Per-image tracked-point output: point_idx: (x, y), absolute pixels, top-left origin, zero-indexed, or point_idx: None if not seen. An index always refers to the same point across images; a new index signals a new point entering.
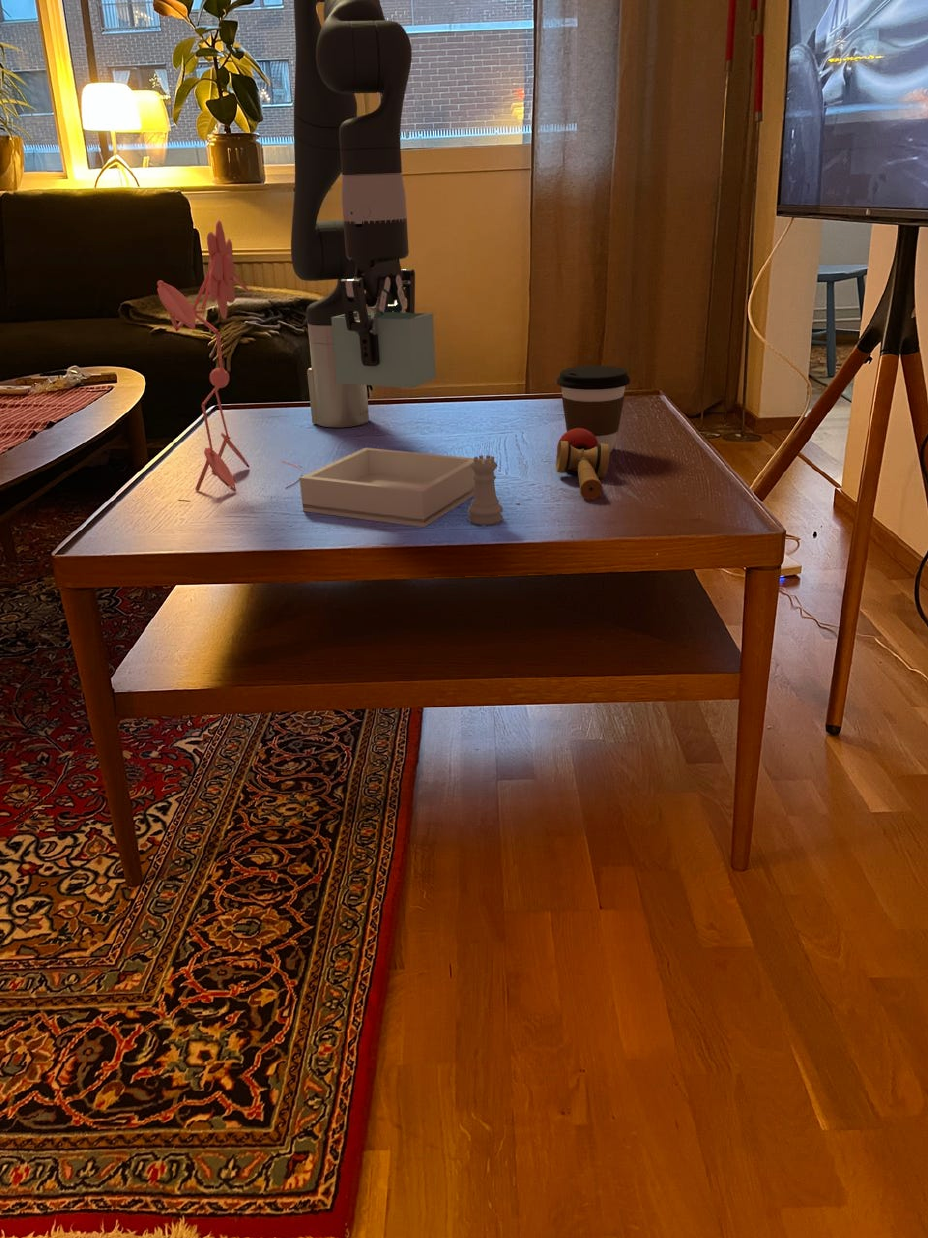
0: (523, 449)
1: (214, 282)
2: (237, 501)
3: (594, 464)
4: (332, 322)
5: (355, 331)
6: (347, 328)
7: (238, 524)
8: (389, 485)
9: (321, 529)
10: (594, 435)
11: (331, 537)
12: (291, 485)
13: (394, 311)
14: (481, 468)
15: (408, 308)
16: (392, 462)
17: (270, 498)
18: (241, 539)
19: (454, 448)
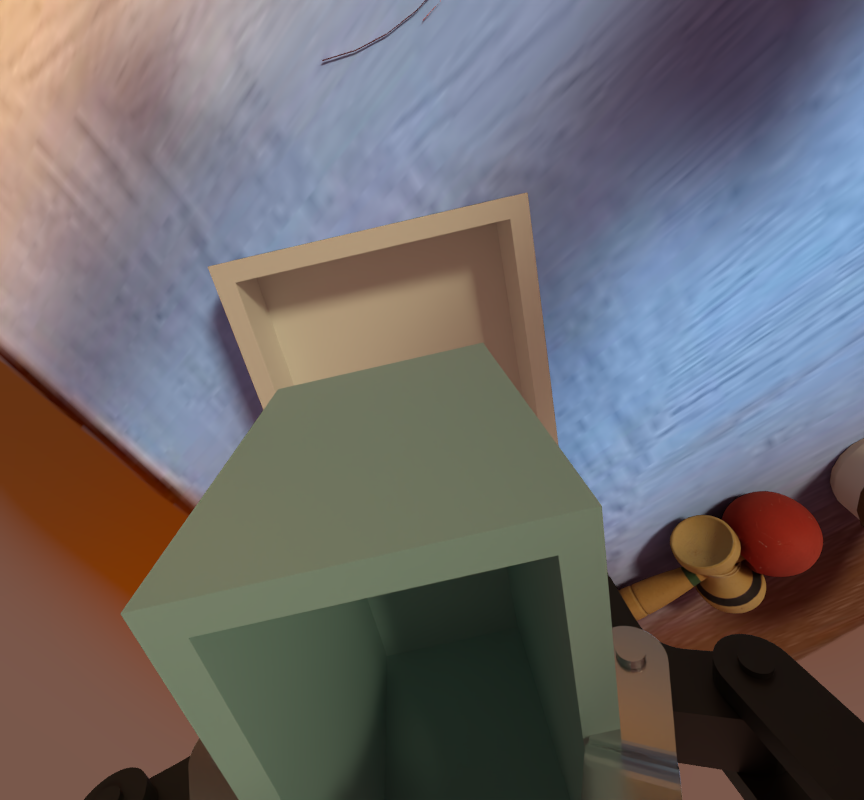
0: (851, 351)
1: None
2: (162, 27)
3: (701, 582)
4: (150, 583)
5: (159, 777)
6: (87, 796)
7: (73, 202)
8: None
9: (195, 380)
10: (860, 521)
11: (182, 427)
12: (349, 52)
13: (730, 697)
14: None
15: (750, 796)
16: (514, 293)
17: (242, 96)
18: (34, 293)
19: (826, 198)
